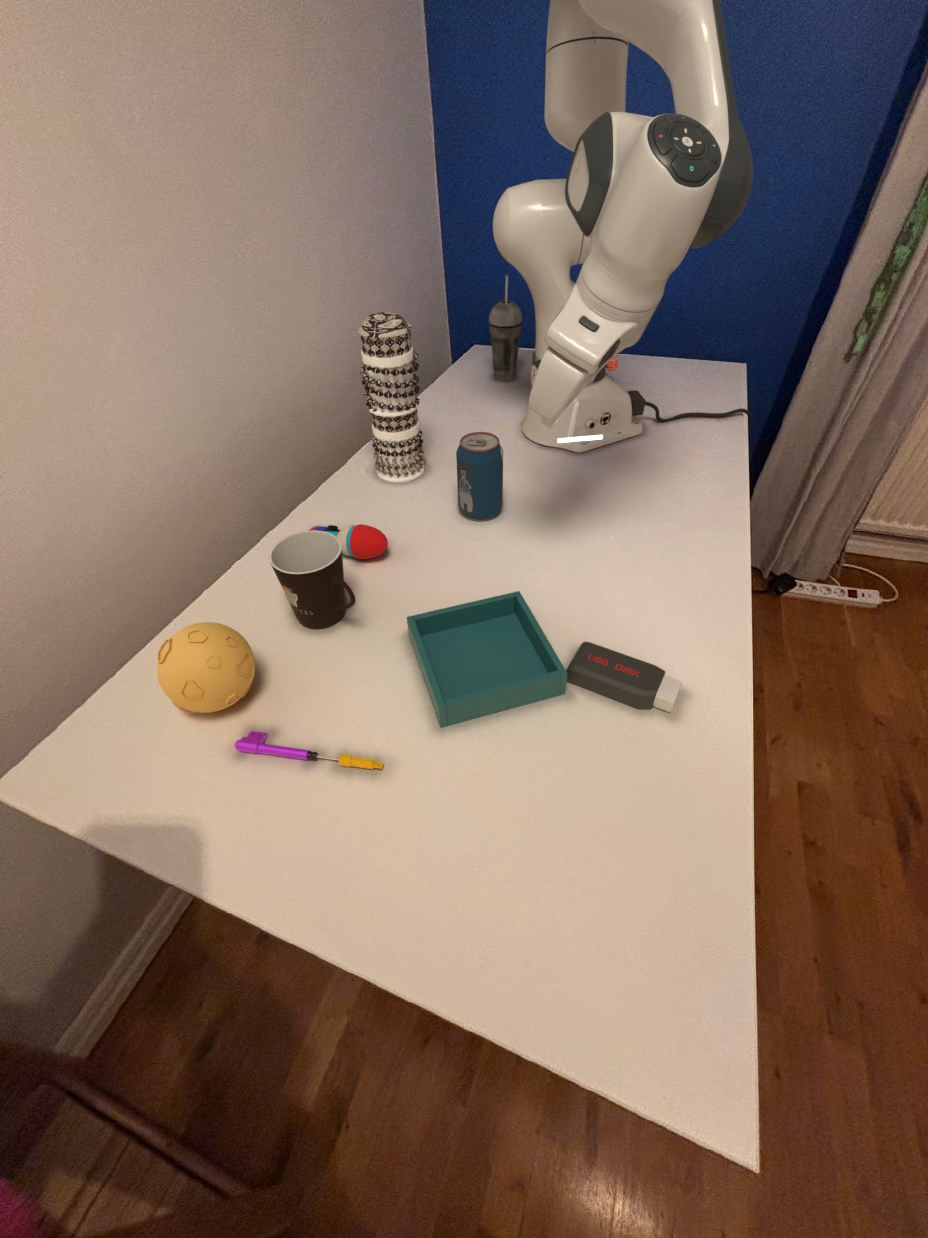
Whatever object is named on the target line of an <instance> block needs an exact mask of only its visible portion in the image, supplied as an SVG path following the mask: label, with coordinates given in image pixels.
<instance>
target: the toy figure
mask: <svg viewBox="0 0 928 1238" xmlns="http://www.w3.org/2000/svg"><path fill="white" fill-rule="evenodd" d="M309 530H317V531H324V532H328V533H330V534H333V535H334V536H336V537H337V538H338V539H339V540H340V542H341V545H342V555H345V556H350V557H352V558H356V559H358V560H367V559H373V558H376V557H378V556H381V555H382V554H383V553H384V552H386V550H387V549H388V546H389V541H388V537H387V536H386V535H385V534H384V532H382V530H380V529H378V528H376V527H375V526H371V525H369V524H368V525H367V524H362V523H359V524H348V525H346V526H344V527H342V528H341V529H339V526H338V525H335V524H334V525H333V524H329V525H327V526H322V525H321V526H320V525H315V526H312V527H311V528H310V529H308V530H307V531H309Z"/></svg>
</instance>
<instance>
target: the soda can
mask: <svg viewBox="0 0 928 1238" xmlns="http://www.w3.org/2000/svg"><path fill="white" fill-rule="evenodd" d="M455 453H456V455H455V456H456V484H457V505H458V508H459V510H460V512H461V513H462V514H463V516H464V517H465V518H467V519H468V520H471V521H474V522H486V521H490V520H492V519H494V518H495V517H497V515H498V514H499V512H500V511H501V509H502V507H503V500H504V499H503V497H504V495H503V494H504V493H503V491H504V490H503V489H504V485H503V484H504V449H503V447H502V445H501V443H500V438H499V437H498V436H497V435H496V434H494V433H491V432H487V431H474V432H470V433H467V434H464V435H463V436H462V437H461V438H460V440H459V445H458V447H457V449H456V452H455Z"/></svg>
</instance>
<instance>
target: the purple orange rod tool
mask: <svg viewBox="0 0 928 1238" xmlns="http://www.w3.org/2000/svg"><path fill="white" fill-rule="evenodd" d="M267 738H268V733H267V732H262V731H255V730H250V731H249V733H248V734H247V735H246V736H242V737H241V739H238V740H236V741H235V742H234V749H235V750H236V751H237V750H238V752H245V753H250V754H265V755H271V756H276V757H277V756H278V757H286V758H292V759H297V760H298V759H299V760H305V761H308V760H311V761H317V760H318V759H325V760H331V761H338V765H339V766H341V767H349V768H351V767H354V768H361V769H367V770H374V769H380V770H382V769H383V767H384V762H381V761H376V760H375V759H373V758H365V757H357V756H354V755H351V754H343V753H341V754H340V755H339V758H338V757H334V756H333V757H332V756H325V755H319V753H318V752H317V751H312V750H310V749H305V748H298V747H290V746H283V745H277V744H269V743H264V742H265V740H266V739H267Z"/></svg>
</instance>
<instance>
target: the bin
mask: <svg viewBox="0 0 928 1238" xmlns="http://www.w3.org/2000/svg"><path fill="white" fill-rule="evenodd" d="M406 623H407V631H408V637H409V641H410V643H411V646H412V649H413V653H414V655H415V659H416V661H417V663H418V667H419V668H420V672H421V675H422V678H423V681H424V684H425V687H426V690H427V693H428V696H429V698H430V702H431V705H432V707H433V710H434V714H435V716H436V719H437V721H438V725H439V727H440V728H445V727H449V726H452V725H456V724H460V723H464V722H467V721H470V720H474V719H478V718H481V717H485V716H490V715H492V714H496V713H501V712H504V711H507V710H511V709H515V708H518V707H522V706H526V705H529V704H534V703H536V702H540V701H545V700H548V699H551V698H555V697H559V696H562V695H565V694H566V688H567V683H568V682H567V675H568V673H567V672H566V670H567V669H566V668H565V666H564V665H563V663H562V661H561V660H560V658H559V656H558V654H557V652H556V651H555V649H554V648H553V646H552V644H551V643H550V641H549V639H548V637H547V636H546V634H545V632H544V631H543V628H542V627H541V626H540V624H539V622H538V620H537V619H536V616H535V615H534V614H533V612H532V609H531V608H530V607H529V605H528V603H527V601H526V600H525V598H524V597H523V595H522V592H521V591H520V590H517V591H513V592H508V593H505V594H499V595H494V596H491V597H487V598H483V599H478V600H474V601H470V602H466V603H460V604H457V605H452V606H448V607H444V608H439V609H435V610H430V611H427V612H422V613H417V614H413V615H408V616H406Z"/></svg>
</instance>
